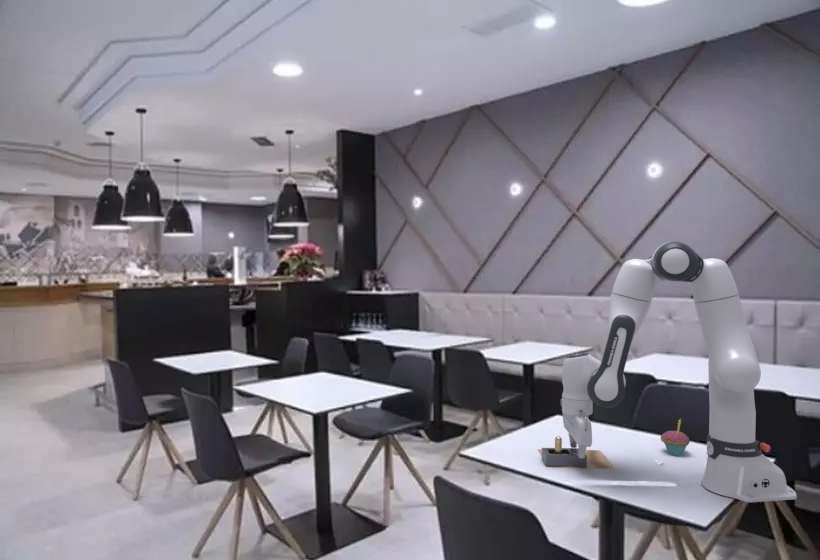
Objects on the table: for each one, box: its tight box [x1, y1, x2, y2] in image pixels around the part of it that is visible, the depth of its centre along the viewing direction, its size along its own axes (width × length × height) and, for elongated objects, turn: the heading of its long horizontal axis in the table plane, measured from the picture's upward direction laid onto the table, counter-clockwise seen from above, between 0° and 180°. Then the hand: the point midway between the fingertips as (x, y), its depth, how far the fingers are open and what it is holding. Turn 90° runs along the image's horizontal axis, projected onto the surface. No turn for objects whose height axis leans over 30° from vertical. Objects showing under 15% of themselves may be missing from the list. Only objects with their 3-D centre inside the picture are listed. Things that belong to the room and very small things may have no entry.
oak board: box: [537, 448, 617, 469], centre depth 177 cm, size 20×16×2 cm
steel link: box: [541, 447, 587, 468], centre depth 173 cm, size 12×7×3 cm, turn 88°
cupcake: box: [660, 418, 691, 456], centre depth 186 cm, size 9×8×12 cm
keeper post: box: [554, 436, 563, 454], centre depth 173 cm, size 2×2×8 cm
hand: (577, 452), depth 173 cm, fingers open, 8 cm apart
